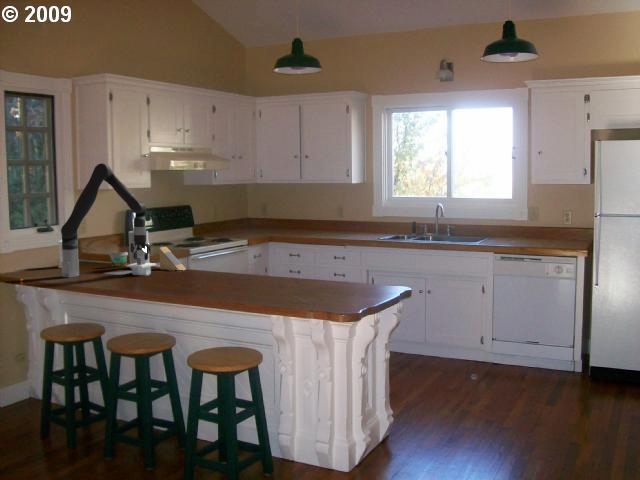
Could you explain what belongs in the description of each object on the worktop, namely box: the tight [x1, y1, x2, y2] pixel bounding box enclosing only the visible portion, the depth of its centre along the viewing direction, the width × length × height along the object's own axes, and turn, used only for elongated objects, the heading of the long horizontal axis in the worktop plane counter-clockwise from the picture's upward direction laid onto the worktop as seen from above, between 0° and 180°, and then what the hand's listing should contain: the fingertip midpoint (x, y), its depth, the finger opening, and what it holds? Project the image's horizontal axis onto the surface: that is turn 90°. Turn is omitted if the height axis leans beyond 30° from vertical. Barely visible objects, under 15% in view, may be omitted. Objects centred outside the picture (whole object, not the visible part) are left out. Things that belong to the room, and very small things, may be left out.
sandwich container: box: [158, 246, 187, 272], centre depth 448 cm, size 9×15×15 cm, turn 70°
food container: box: [108, 251, 129, 268], centre depth 462 cm, size 12×6×10 cm, turn 105°
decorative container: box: [57, 239, 63, 269], centre depth 465 cm, size 12×12×18 cm
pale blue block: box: [131, 266, 152, 277], centre depth 429 cm, size 11×11×6 cm
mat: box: [102, 269, 132, 276], centre depth 436 cm, size 16×16×1 cm
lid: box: [125, 257, 157, 268], centre depth 429 cm, size 13×13×6 cm
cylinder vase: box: [128, 230, 150, 270], centre depth 452 cm, size 12×12×25 cm
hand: (140, 259), depth 428 cm, fingers open, 8 cm apart
